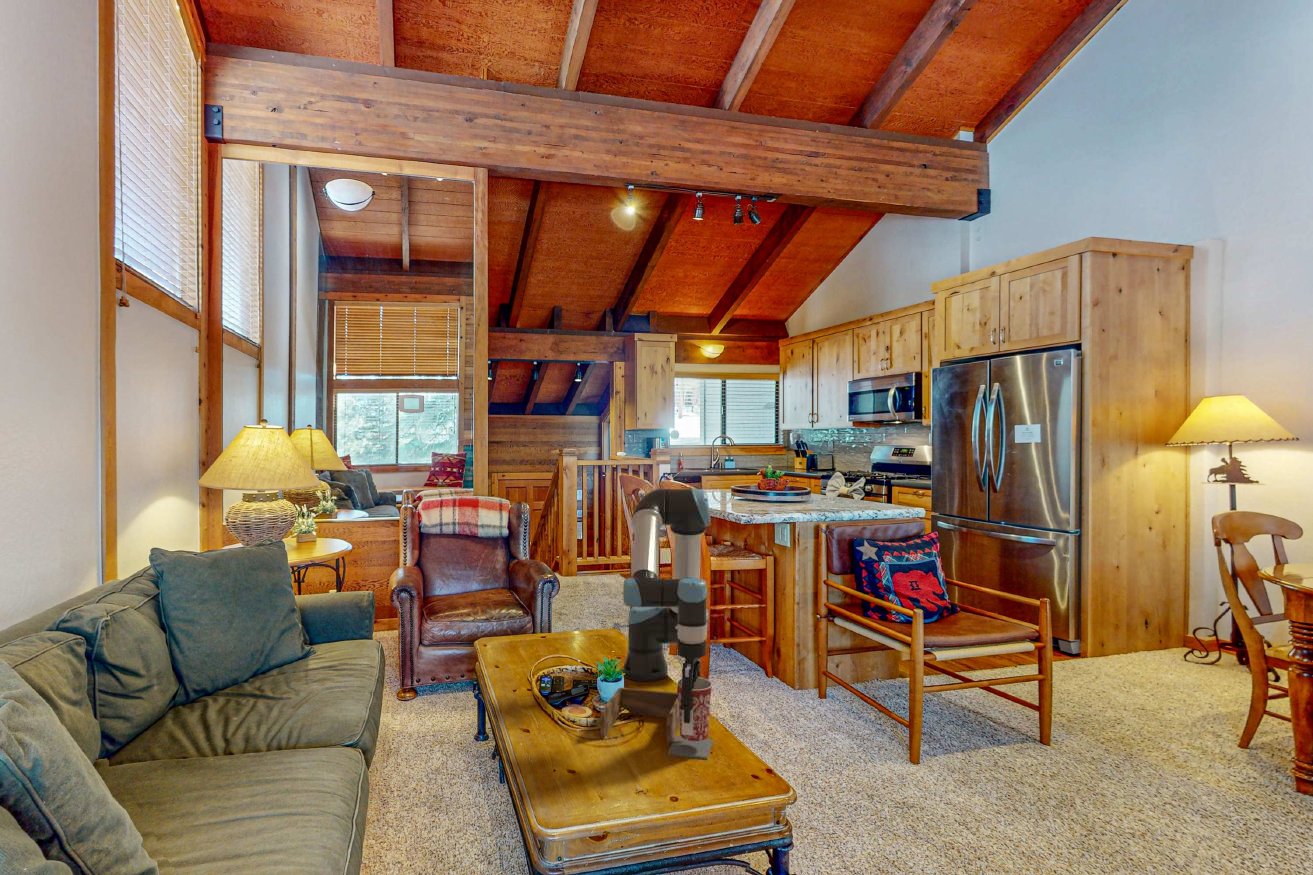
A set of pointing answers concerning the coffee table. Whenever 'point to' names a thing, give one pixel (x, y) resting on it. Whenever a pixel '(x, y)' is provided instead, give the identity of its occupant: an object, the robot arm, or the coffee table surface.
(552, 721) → the coffee table surface
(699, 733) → the mug
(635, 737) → the coffee table surface
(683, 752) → the pad
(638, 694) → the wooden u-shaped barrier
